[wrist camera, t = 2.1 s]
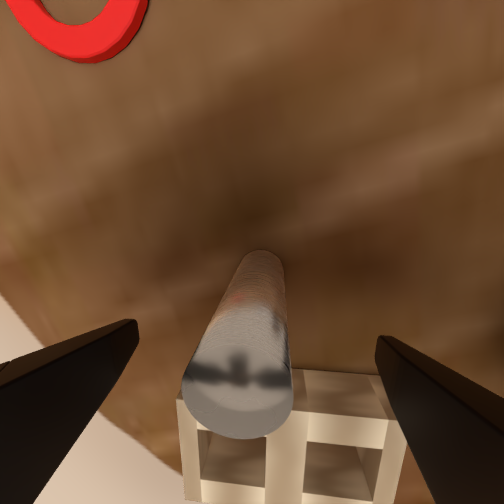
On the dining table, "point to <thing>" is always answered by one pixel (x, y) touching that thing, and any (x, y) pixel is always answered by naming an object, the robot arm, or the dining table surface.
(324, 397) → the pin block
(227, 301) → the metal pin
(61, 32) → the tow hook
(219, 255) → the dining table surface
